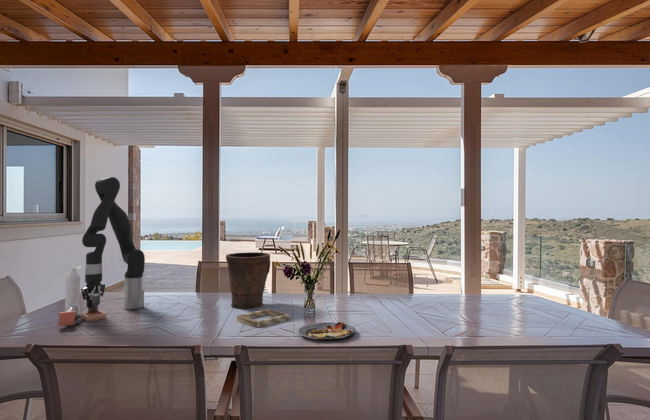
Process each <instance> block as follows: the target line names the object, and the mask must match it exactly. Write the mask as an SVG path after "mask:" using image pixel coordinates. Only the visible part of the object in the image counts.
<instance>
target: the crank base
mask: <svg viewBox="0 0 650 420" xmlns="http://www.w3.org/2000/svg"><path fill="white" fill-rule="evenodd" d="M83 321H84V320H83V319H81V318H78V320H76V321H75V325H78V324H81V323H83Z"/></svg>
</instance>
